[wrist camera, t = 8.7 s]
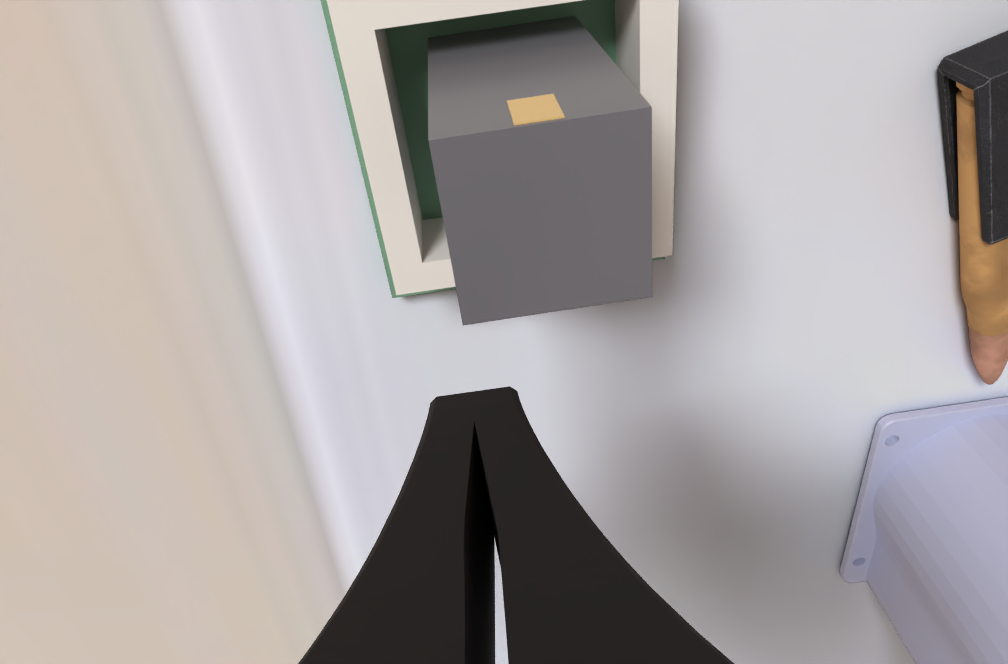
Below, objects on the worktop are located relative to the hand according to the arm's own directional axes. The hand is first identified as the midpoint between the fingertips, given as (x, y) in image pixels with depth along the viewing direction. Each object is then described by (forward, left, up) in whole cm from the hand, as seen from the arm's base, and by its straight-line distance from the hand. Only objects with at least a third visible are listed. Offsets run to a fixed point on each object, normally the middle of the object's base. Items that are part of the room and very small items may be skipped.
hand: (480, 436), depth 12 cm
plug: (+3, -2, -9) cm, 10 cm away
